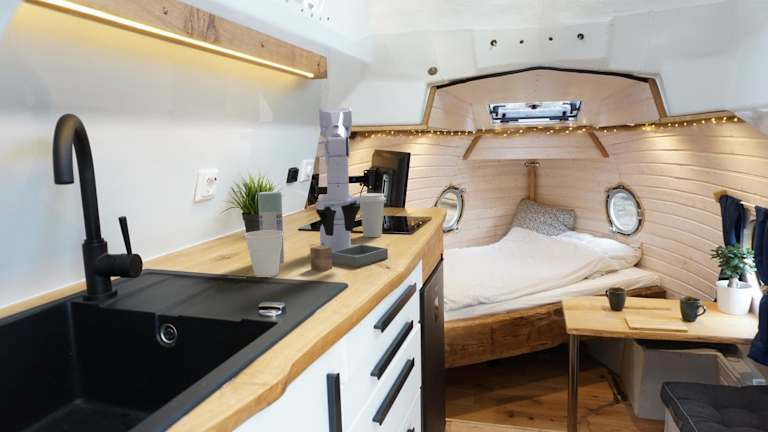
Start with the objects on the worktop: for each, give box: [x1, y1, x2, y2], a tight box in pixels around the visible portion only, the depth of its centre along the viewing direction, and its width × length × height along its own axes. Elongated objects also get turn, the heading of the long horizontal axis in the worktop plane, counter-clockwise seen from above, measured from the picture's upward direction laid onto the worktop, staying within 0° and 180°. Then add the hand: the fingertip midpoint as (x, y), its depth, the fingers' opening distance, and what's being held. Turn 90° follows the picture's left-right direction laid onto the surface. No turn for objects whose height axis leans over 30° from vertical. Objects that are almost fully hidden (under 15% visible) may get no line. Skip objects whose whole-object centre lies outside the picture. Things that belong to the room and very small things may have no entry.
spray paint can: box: [257, 191, 285, 265], centre depth 145 cm, size 6×6×20 cm
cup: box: [244, 230, 285, 278], centre depth 132 cm, size 10×10×11 cm
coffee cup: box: [358, 192, 386, 238], centre depth 182 cm, size 10×10×15 cm
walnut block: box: [309, 245, 333, 272], centre depth 138 cm, size 4×4×6 cm
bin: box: [332, 244, 389, 269], centre depth 146 cm, size 10×13×3 cm
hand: (339, 233), depth 137 cm, fingers open, 7 cm apart
